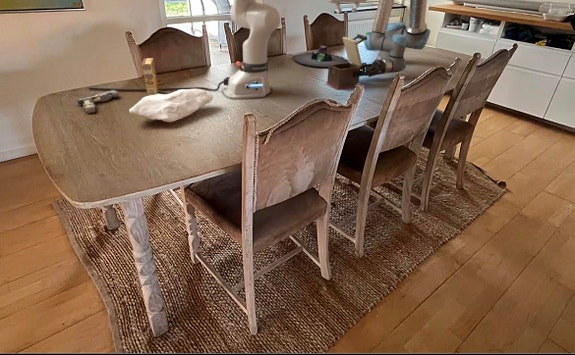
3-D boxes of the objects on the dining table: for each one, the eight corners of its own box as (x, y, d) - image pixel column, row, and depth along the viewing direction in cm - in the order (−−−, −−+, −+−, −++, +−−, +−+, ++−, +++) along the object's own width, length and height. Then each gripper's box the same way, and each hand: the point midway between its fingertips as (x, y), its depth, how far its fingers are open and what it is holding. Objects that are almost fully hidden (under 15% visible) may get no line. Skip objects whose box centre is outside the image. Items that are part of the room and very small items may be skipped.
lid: (354, 42, 174) (368, 33, 175) (342, 37, 180) (356, 29, 182) (360, 66, 182) (373, 57, 184) (348, 61, 189) (361, 53, 191)
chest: (337, 89, 183) (339, 69, 177) (326, 83, 190) (328, 64, 184) (358, 86, 188) (360, 67, 183) (346, 80, 195) (349, 62, 190)
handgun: (128, 97, 156) (111, 87, 164) (86, 107, 144) (70, 97, 152) (129, 103, 157) (113, 94, 165) (88, 114, 146) (72, 103, 154)
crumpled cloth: (117, 110, 146) (113, 90, 140) (195, 92, 166) (194, 73, 160) (143, 139, 134) (140, 118, 128) (223, 116, 154) (224, 96, 148)
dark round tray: (359, 62, 224) (361, 47, 219) (315, 70, 207) (315, 53, 202) (323, 53, 249) (324, 39, 244) (281, 59, 231) (281, 44, 227)
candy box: (157, 97, 164) (152, 63, 155) (147, 98, 163) (141, 63, 155) (158, 91, 171) (153, 57, 163) (149, 91, 170) (143, 58, 162)
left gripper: (335, -20, 155) (332, 15, 162) (372, -21, 164) (367, 13, 171) (326, -22, 160) (324, 12, 167) (363, -22, 168) (359, 11, 176)
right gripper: (394, 79, 190) (360, 85, 180) (366, 68, 206) (334, 72, 196) (397, 65, 186) (362, 70, 176) (369, 54, 202) (336, 58, 192)
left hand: (346, 13), depth 169 cm, fingers open, 7 cm apart
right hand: (347, 71), depth 186 cm, fingers closed on chest, 10 cm apart
